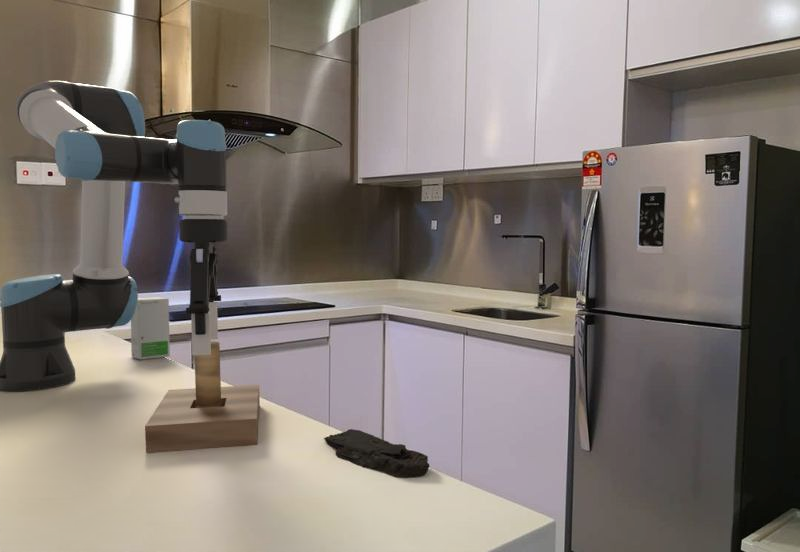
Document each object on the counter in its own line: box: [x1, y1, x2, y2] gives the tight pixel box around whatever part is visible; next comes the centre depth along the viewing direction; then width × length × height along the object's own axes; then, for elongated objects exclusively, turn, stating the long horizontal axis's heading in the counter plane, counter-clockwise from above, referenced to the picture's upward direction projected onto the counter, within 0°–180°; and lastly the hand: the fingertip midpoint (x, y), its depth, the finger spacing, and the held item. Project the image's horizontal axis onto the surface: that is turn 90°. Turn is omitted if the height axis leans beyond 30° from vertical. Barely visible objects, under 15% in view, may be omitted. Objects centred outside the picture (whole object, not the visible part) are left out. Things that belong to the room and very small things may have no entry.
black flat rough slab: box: [323, 428, 431, 479], centre depth 90 cm, size 22×7×3 cm, turn 39°
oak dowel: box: [194, 341, 222, 408], centre depth 104 cm, size 4×4×14 cm
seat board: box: [144, 384, 261, 454], centre depth 105 cm, size 22×16×4 cm
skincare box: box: [130, 296, 171, 360], centre depth 165 cm, size 8×7×16 cm
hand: (205, 346), depth 104 cm, fingers open, 13 cm apart
